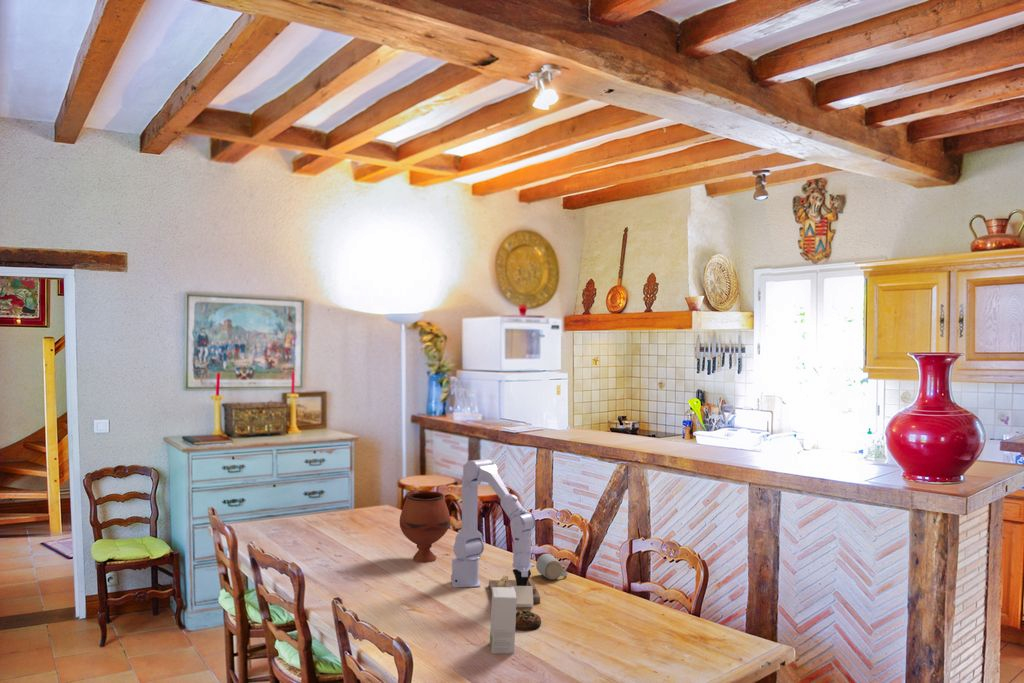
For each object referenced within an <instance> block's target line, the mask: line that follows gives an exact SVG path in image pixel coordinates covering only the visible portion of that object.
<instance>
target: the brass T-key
mask: <svg viewBox="0 0 1024 683" xmlns="http://www.w3.org/2000/svg"><path fill="white" fill-rule="evenodd" d="M508 580H509V576H508V575H503V576H502V577H501V579H500V582H499V583H498V587H506V585H507V583H508Z"/></svg>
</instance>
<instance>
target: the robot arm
mask: <svg viewBox="0 0 1024 683" xmlns="http://www.w3.org/2000/svg"><path fill="white" fill-rule="evenodd" d="M462 467H463V469H462V473H463V474H462V478H461V479H462V480H461V530H459V532H458V533H457V535H456V536H455V540H454V541H455V542H454V544H453V553H454V556H455V557H454V558H452V562H451V574H450V580H451V585H452V586H451V587H453V588H469V587H470V588H476V587H477V588H480V587H481V583H480V578H479V574H480V573H479V571H480V570H479V568H480V558H481V555H482V554H483V553H484V550H485V544H484V543H485V542H484V541H483V533H481V532H480V531H479V530H478V508H479V506H478V504H479V503H478V502H479V501H478V497H479V496H478V492H479V489H478V487H479V484H481V483H482V482H483V483H487V484H488V485H489V487H491V489H492V490H493V491H494V493H495V494H496V496H498V498H499V499H500V504H499V505H500V507H501V508H502V509H503V511H504V513H505V514H506V516H507V517H508V519H509V520H510V522H509V526H510V528H511V529H510V530H511V531H512V537H513V547H512V548H513V555H512V557H513V558H512V566H511V567H512V568H513V569H512V573H513V575H514V577H515V580H516V584H517V586H526V585H527V582H528V579H529V578H530V577H531V575H532V572H531V568H534V567H535V564H534V562H533V563H532V560H531V559H532V530H533V529H534V528H535V526H536V518H535V516H534V514H533V513H532V512H530V511H528V510H526V509H525V508H524V507H523V505H522V504H521V502H520V500H519V498H518V497H517V496H516V495H515V494H512V493H510V492H509V490H508V489H507V487H506V485H505V484H504V481H503V480H502V477H501V476H500V475H499V473H498V466H497V464H496V463H495V461H494V460H493V458H490V457H487V458H482V459H481V458H480V459H475V460H468V461H467V462H465V463H464V465H463V466H462Z"/></svg>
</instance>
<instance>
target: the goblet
mask: <svg viewBox="0 0 1024 683" xmlns="http://www.w3.org/2000/svg"><path fill="white" fill-rule="evenodd" d="M444 497H445V495H444V493H442V492H438V491H416V492H410V493H407V494H406V499H405V500H404V501H405V502H404V504H403V506H402V509H401V512H400V516H399V527H400V530H401V532H402V534H403V535H404V537H406V538H407V540H409V541H410V542H412V543H413V544H415V545H416V549H417V552H416V553H414V555H413V557H412V561H413V562H416V563H421V564H422V563H424V564H425V563H431V562H433V561H436V560H437V558H436V557H437V556H436V555H435V554H434V552H432V550H431V548H432V546H433V544H435V543H436V542H438V541H439V540H440V539H441V538H443V537H444V535H445V534H446V533H447V532H448V530H449V528H450V524H451V516H450V515H451V514H450V511H449V509H448V505H447V503H446V500H445V498H444Z"/></svg>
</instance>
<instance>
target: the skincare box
mask: <svg viewBox="0 0 1024 683" xmlns="http://www.w3.org/2000/svg"><path fill="white" fill-rule="evenodd" d="M516 604H517V598H516V592H515V590H514V587H492V596H491V610H490V628H489V630H490V631H489V632H490V633H489V634H490V635H489V646H490V649H491V650H490V651H491V652H490V653H491V654H494V655H495V654H498V655H501V654H515V645H516V644H515V642H516V629H515V624H516V612H517V607H516Z"/></svg>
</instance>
